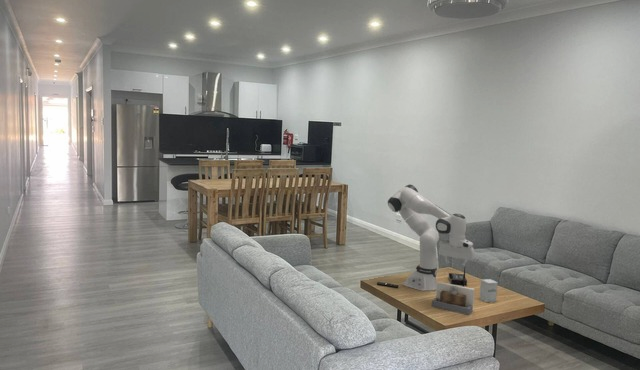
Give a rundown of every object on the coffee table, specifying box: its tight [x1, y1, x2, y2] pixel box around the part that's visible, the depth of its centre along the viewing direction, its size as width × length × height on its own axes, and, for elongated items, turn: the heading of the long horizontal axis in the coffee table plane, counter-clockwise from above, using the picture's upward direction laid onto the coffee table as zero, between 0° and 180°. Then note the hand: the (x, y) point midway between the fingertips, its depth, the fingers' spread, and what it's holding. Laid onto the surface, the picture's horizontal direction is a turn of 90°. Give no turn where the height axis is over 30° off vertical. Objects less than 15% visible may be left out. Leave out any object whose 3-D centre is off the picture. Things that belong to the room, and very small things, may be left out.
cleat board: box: [431, 281, 476, 316], centre depth 275 cm, size 22×9×13 cm, turn 58°
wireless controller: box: [448, 262, 468, 287], centre depth 326 cm, size 20×14×17 cm
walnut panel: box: [440, 286, 466, 307], centre depth 275 cm, size 14×4×13 cm, turn 58°
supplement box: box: [479, 278, 499, 303], centre depth 291 cm, size 7×7×13 cm
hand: (455, 264), depth 273 cm, fingers open, 8 cm apart
